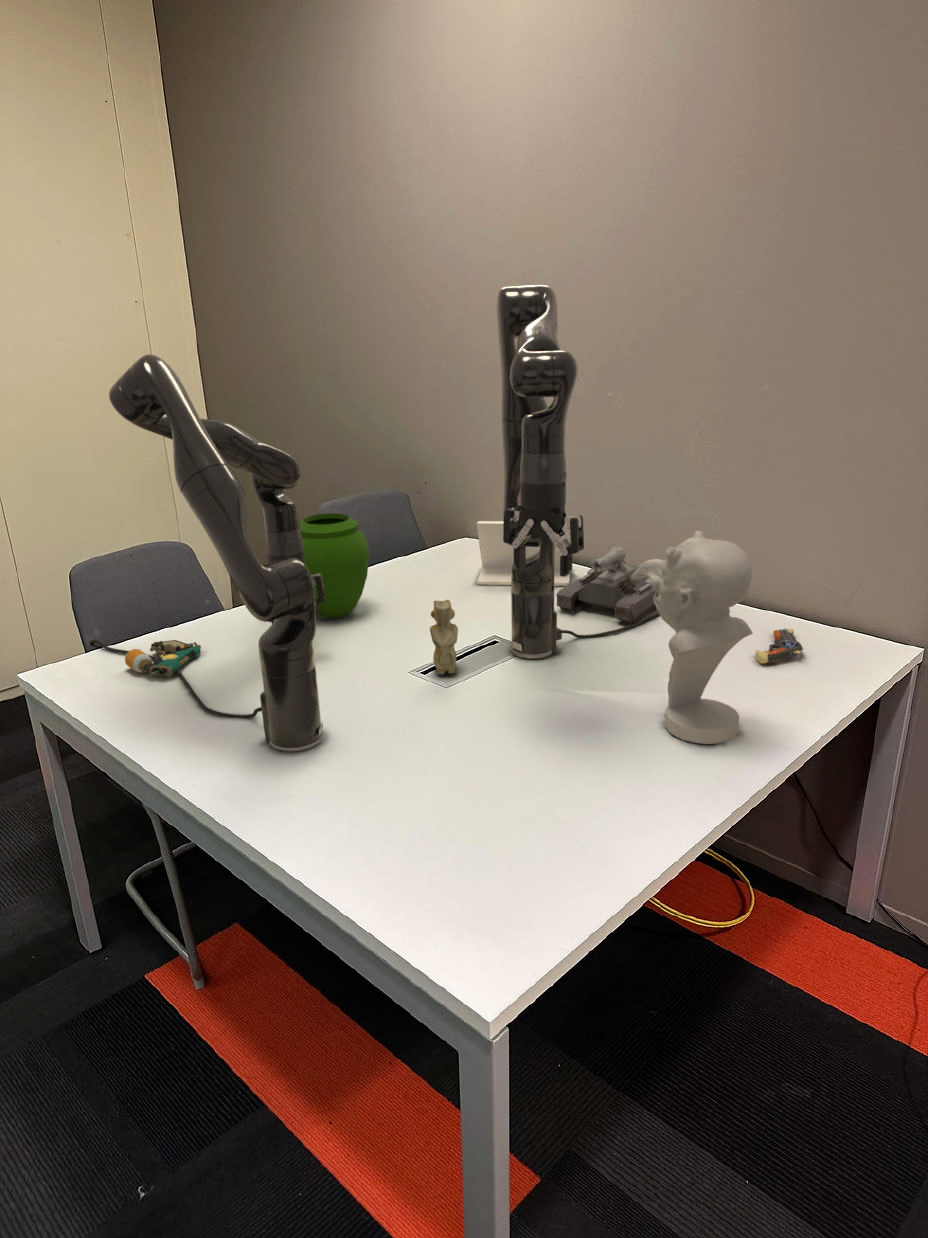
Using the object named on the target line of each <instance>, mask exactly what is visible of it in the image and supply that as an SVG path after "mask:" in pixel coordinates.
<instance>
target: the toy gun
mask: <svg viewBox="0 0 928 1238" xmlns="http://www.w3.org/2000/svg"><path fill="white" fill-rule="evenodd" d="M772 632H773V637H774V639H775V640H774V643H772V644H769V649H768V651H762V650H758V649H757V650H755V652H754V654H755V658H756V661H758V663H760V664H767V663H772V662H776V661H778V660H781V659H785V658H788V657H791V656H793V655H800V654H801V652H802V651H804V650H805V648H804V647H803V645H802V644H801V643H800V642H799V641H797V639H796V637H795V636H794V634H795V630H794V629H793V628H783V629H782V628H780V629H774V630H773V631H772Z"/></svg>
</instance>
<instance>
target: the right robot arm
mask: <svg viewBox="0 0 928 1238" xmlns="http://www.w3.org/2000/svg"><path fill="white" fill-rule="evenodd" d="M496 318H497V332H498V333H497V334H498V344H499V356H500V368H501V434H502V436H501V437H502V449H503V450H502V451H503V466H504V467H503V468H504V469H503V470H504V473H503V474H504V485H503V487H504V488H503V490H504V491H503V518H502V519H503V520H502V521H503V541H504V543H507V544H508V545H510V546H513V549H514V563H513V565H512V567H511V585H510V588H511V589H510V597H511V599H510V603H511V604H510V606H511V607H510V609H511V610H510V615H511V617H510V618H511V621H510V622H511V643H510V644H511V646H510V651H511V653H512V655H513V656H515V657H518V658H521V659H525V660H526V659H527V660H540V659H545V658H548V657H550V656H552V655H557V654H558V653H557V650H558V649H557V648H558V647H557V645H558V644H557V643H558V641H561V640H562V639H563V634H567V635H571V636H573V637H574V638H578V639H593V638H599V637H604V636H607V635H613V634H616V633H620V632H623V631H627V630H629V629H632V628H633V627H636V626H640V625H641V624H644V623H645V622H647V621H649V620H652V619H653V618H655V617H658V616H659V615H660V614H659V612H658V611H657V612H655V613H653V614H651V615H649V616H647V617H644V618H643V619H641V620H639V621H638V620H637V621H635V622H634V623H630V624H628V625H626V626H623V627H621V628H617V629H613V630H608V631H604V632H598V633H593V634H577V633H576V632H574V631H572V630H567V629H561V628H559V627H558V613H557V612H556V611H555V586H554V557H555V545H556V546H557V547H558V549H559V550H560V552H561V554H562V555H561V556H560V576H562V577H565V576H567V575H569V573H570V574H571V573H572V571H573V558H574V557H573V556H574V555H576V554H578V553H579V552H581V551H584V549H585V533H584V532H585V531H584V530H585V529H584V517H583V515H582V514H578V515H575V516H574V515H573V516H571V515H567V513H566V504H567V503H566V502H567V501H566V500H567V477H568V476H567V475H568V474H567V459H566V458H567V457H566V450H565V449H566V424H567V423H566V422H567V415H568V410H569V406H570V404H571V403H570V402H571V399H572V395H573V393H574V390H575V386H576V383H577V377H578V371H579V370H578V364H577V360H576V358H575V356H574V355H573V354H572V353H571V352H569V351H568V350H561V349H560V345H559V341H558V328H559V327H558V326H559V325H558V324H559V321H558V301H557V297H556V293H555V292H554V290H553V288H552V287H550V286H548V285H544V284H535V285H534V284H533V285H515V286H513V285H511V286H503V287H501V288H500V290H499V291H498V295H497V300H496ZM516 339H517V340H516ZM545 398H553V401H552V402H551V404H550V405H548V403H547V400H546V399H545ZM565 524H567V525H568V529H570V540H569V536H568V534H567V533H566V531H565V530H564V528H563V526H564V525H565ZM557 534H558V535H559V536H558V535H557ZM526 547H539V552H537V553H536V554H534V555H532V556H530V557H527V558H526Z"/></svg>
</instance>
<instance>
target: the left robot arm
mask: <svg viewBox="0 0 928 1238" xmlns="http://www.w3.org/2000/svg"><path fill="white" fill-rule="evenodd" d="M108 399H109V402H110V403H111V406H112V407H113V409H114V410H115V411H116V412H117V413H118V414H119V415H120V416H121V417H122V418H123V419H124V420H126V421H128V422H129V423H131V424H132V425H135V426H136V427H139V428H141V429H143V430H146V431H148V432H150V433H153V434H156V435H159V436H161V437H164V438H167V439H170V440H172V452H173V473H174V478H175V482H176V485H177V488H178V490H179V492H180V493H181V494H182V496H183V498H184V499H185V501H186V503H187V505H188V506H189V508H190V509H191V511H192V512H193V514H194V516H195V517H196V518H197V520H198V521H199V523H200V524H201V527H202V528H203V529H204V531H205V533H206V534H207V536H208V538H209V539H210V541H211V543H212V544H213V546H214V548H215V550H216V551H217V554H218V556H219V557H220V559H221V561H222V563H223V565H224V567H225V569H226V571H227V573H228V575H229V577H230V579H231V582H232V583H233V586H234V587H235V590H236V591H237V593H238V595H239V598H240V600H241V601H242V603H243V604H244V606H245V608H246V609H247V610H248V612H249V613H250V615H252V617H254V618H255V619H256V620H258V621H260V622H263V623H271V625H269V627H268V628H267V629H266V630H265V631H264V632H263V633H262V634H261V635H260V636H259V639H258V653H259V661H260V667H261V669H260V671H261V677H262V684H263V685H262V686H263V692H261V693H260V695H259V699H260V706H259V707H257V708H255V709H254V710H253V712H252V713H250V714H249V713H248V714H235V713H234V714H233V713H227V712H222V711H218V710H214V709H212V708H209V707H208V706H206V705H205V704H204V702H203V701H202V699H201V698H200V697H199V695H198V694H197V693H196V692H195V691H194V688H193V687H192V686H191V684H190V683H189V682H188V680H187V679H186V677H185V676H184V675H183V673H181V671H180V670H179V669H178V670H177V671H175V672H174V673H175V674H176V675H177V676H178V677H179V678H180V680H181V681H182V682H183V684H184V685H185V687H186V688H187V690H188V691H189V692H190V694H191V695H192V697H193V698H194V699H195V700H196V702H197V703H198V705H199V706H200V708H201V709H202V710H204V711H205V712H207V713H210V714H212V715H216V716H219V717H223V718H232V719H252V718H255V717H256V716H257V714H258V713H260V712H261V716H262V723H263V731H264V732H263V733H264V739H265V743H267V744H269V745H270V747H271V748H273V749H275V750H276V751H280V752H284V753H285V752H286V753H296V752H302V751H307V750H309V749H312V748H314V747H316V746H317V745H319V744H320V743H321V742H322V741H323V739H324V733H323V732H324V731H323V728H324V721H322V719H321V709H320V696H319V686H318V677H317V669H316V658H315V657H316V656H315V647H314V640H315V637H316V633H317V620H318V618H319V616H318V606H317V604H319V603H322V602H324V600H325V591H324V585H323V579H322V574H321V573H317V574H316V575H310V572H309V570H308V569H307V567H306V566H305V557H304V548H303V547H304V544H303V539H302V534H301V531H300V524H299V523H300V517H299V510H298V505H297V503H296V501H294V500H293V499H291V498H289V496H287V494H286V492H285V491H287V490H291V489H293V488H295V487H296V486H297V485H298V484H299V482H300V481H301V478H302V469H301V466H300V464H299V462H298V461H297V460H296V458H295V457H293V456H292V455H290V454H289V453H287V452H285V451H283V450H282V449H279V448H277V447H274V446H272V445H270V444H267V443H265V442H262V441H260V440H258V439H256V438H255V437H254V436H253V435H251V434H249V433H247V432H246V431H245V430H243V429H241V428H240V427H238V426H236V425H234V424H232V423H230V422H227V421H224V420H219V419H211V418H210V419H209V418H200V416H199V414H198V411H197V409H196V408H195V406H194V404H193V402H192V400H191V397H190V396H189V394H188V392H187V390H186V388H185V386H184V384H183V383H182V381H181V379H180V378H179V376H178V375H177V374H176V372H175V371H174V369H173V368H172V367H171V366H170V365H169V364H168V363H167V362H166V361H165V360H163V358H161V357H159V356H157V355H155V354H150V353H149V354H144V355H142V356H141V357H140V358H138V359H137V360H135V362H134V363H133V364H132V365H131V366H130V367H129V368H128V369H127V370H126V371H125V372H124V373H123V374H122V375H121V376H120V377H119V378H118V380H116V381H115V382H114V383H113V385H111V387H110V388H109V392H108ZM231 467H232V468H234V469H236V470H239V471H241V472H245V473H250V476H251V477H250V478H251V482H252V486H253V488H254V491H255V493H256V496H257V499H258V502H259V504H260V506H261V508H262V512H263V520H264V522H263V523H264V529H265V547H266V554H267V563H264V564H262V563H261V561H259V559H258V558H257V556H256V554H255V553H254V551H253V549H252V547H251V545H250V543H249V540H248V536H247V497H246V492H245V490H244V488H243V486H242V484H241V482H240V481H239V479H238V478H237V476H236V474H235V473H234V472H233V469H232V468H231ZM314 585H316V587H317V593H318V596H317V597H315V592H314ZM94 643H96V644H98V645H99V646H100V647H102V648H103V649H105V650H108V651H110V652H112V653H113V652H114V653H119V654H125V655H126V654H127V653H128V652H129V651H130V650H125V649H119V648H113V647H109V646H108V645H107V644H104V642H102V641H100V640H98V639H97V638H95V639H92V640H91V641H90V642H89V645H94ZM147 655H148V656H149V657H150V658H151V660H152V661H154V659H155V658H156V657H157V656H156V657H155V656H153V655H150V654H147Z"/></svg>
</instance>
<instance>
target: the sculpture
mask: <svg viewBox="0 0 928 1238" xmlns="http://www.w3.org/2000/svg"><path fill="white" fill-rule="evenodd" d="M455 615H456V611H455V609H453V608H452V602H451V601H450V599H445V600H433V610H431V612H430V617H431V618H432V619H433V620H434V621H435V622H436V623H435V624H433V625H431V626H429V633H430V636H431V640H432V641H431V642H432V643H433V645H434V648H435V649H434V652H433V656H432V657H433V659H432V660H433V665H434V667H435V668H436V671H437V674H438V675H445V674H446V672H447V673H448V674H455V673H456V666H457V665H456V663H457V652H456V649H455V644H456V643H457V642H458V637H459V635H458V634H459V627H458V626H457V624H455V623H453V622H451V621H452V620H453V619H454V618H455Z"/></svg>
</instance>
